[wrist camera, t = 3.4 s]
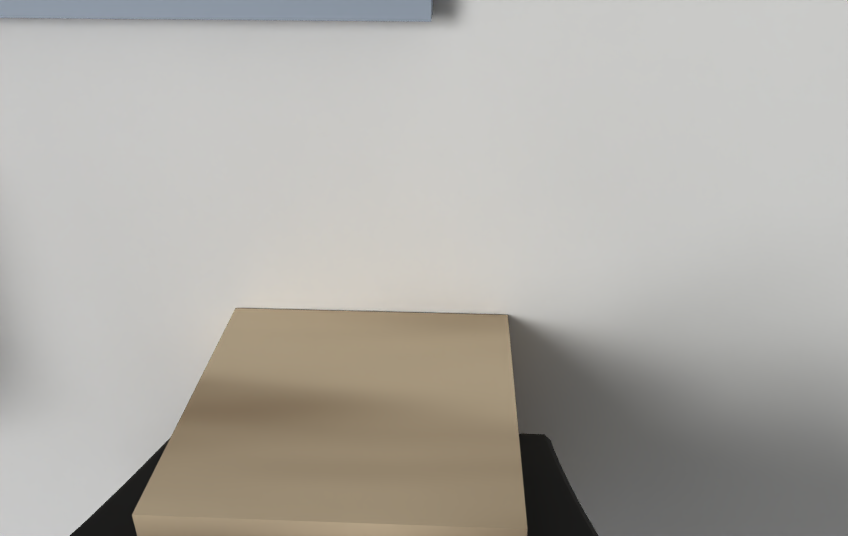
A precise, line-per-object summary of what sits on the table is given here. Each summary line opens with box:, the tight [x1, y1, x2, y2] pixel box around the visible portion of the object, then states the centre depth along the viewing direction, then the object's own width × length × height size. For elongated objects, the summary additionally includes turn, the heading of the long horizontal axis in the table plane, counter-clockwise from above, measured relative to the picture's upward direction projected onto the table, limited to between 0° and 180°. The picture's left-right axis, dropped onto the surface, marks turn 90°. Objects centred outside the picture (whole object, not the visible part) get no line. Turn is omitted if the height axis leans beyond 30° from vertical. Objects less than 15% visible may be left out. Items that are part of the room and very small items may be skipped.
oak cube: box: [132, 308, 527, 536], centre depth 12 cm, size 4×4×4 cm
